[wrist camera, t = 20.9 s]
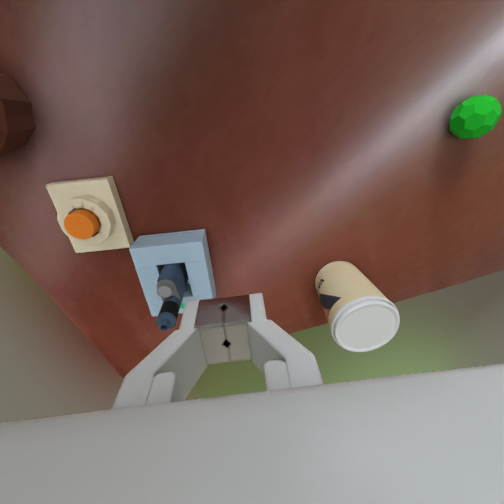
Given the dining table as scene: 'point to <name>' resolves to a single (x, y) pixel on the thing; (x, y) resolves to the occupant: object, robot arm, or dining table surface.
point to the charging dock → (169, 252)
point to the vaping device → (171, 293)
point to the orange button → (81, 224)
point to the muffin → (13, 116)
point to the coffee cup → (355, 308)
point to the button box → (100, 203)
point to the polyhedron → (475, 117)
